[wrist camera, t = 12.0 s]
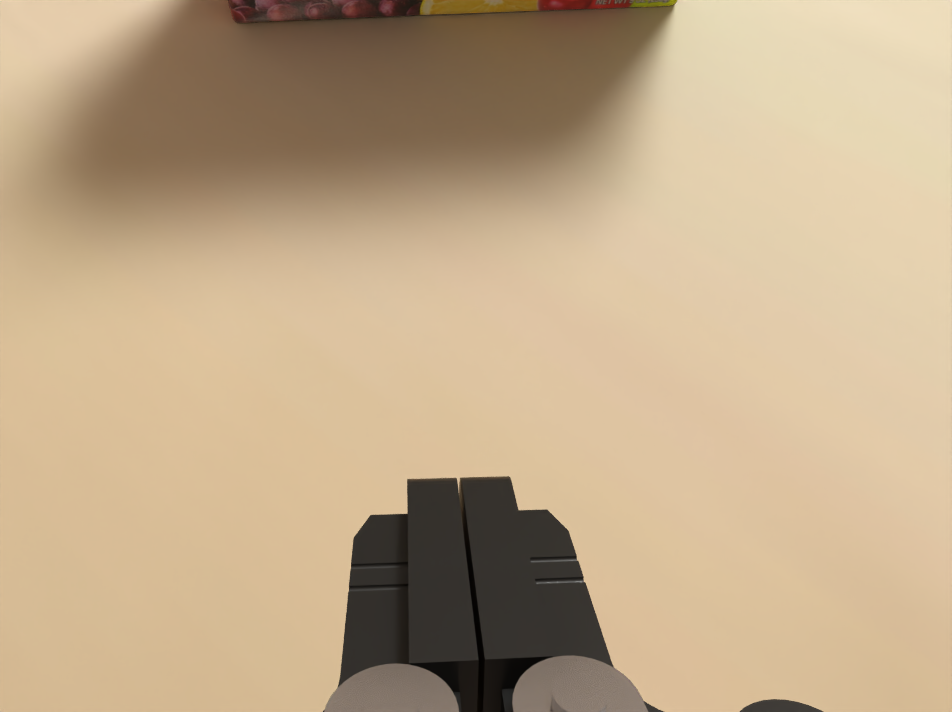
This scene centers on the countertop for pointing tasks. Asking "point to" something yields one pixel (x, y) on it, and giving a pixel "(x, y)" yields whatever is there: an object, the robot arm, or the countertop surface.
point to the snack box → (408, 7)
